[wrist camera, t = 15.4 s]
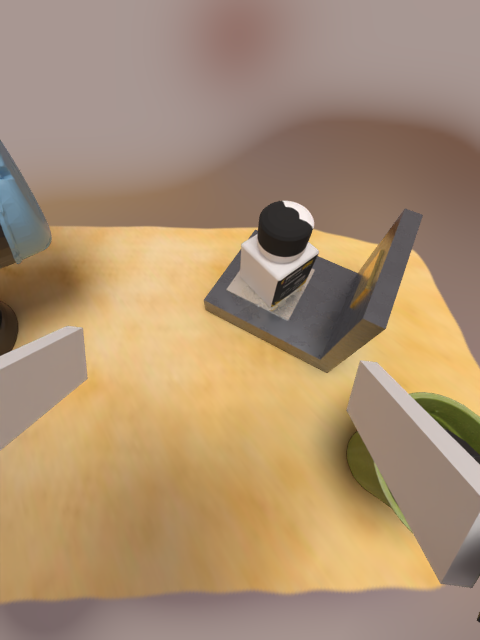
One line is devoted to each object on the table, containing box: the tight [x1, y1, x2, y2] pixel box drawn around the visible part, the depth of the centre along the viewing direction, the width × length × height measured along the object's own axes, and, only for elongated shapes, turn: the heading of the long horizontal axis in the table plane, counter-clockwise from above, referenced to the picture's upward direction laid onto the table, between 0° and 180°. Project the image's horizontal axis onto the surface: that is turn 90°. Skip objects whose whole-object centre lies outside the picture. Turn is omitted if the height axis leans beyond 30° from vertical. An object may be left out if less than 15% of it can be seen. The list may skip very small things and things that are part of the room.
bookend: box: [204, 209, 423, 373], centre depth 33 cm, size 20×16×15 cm
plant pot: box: [347, 392, 480, 533], centre depth 26 cm, size 12×12×11 cm
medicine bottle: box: [240, 201, 319, 308], centre depth 32 cm, size 7×7×12 cm
